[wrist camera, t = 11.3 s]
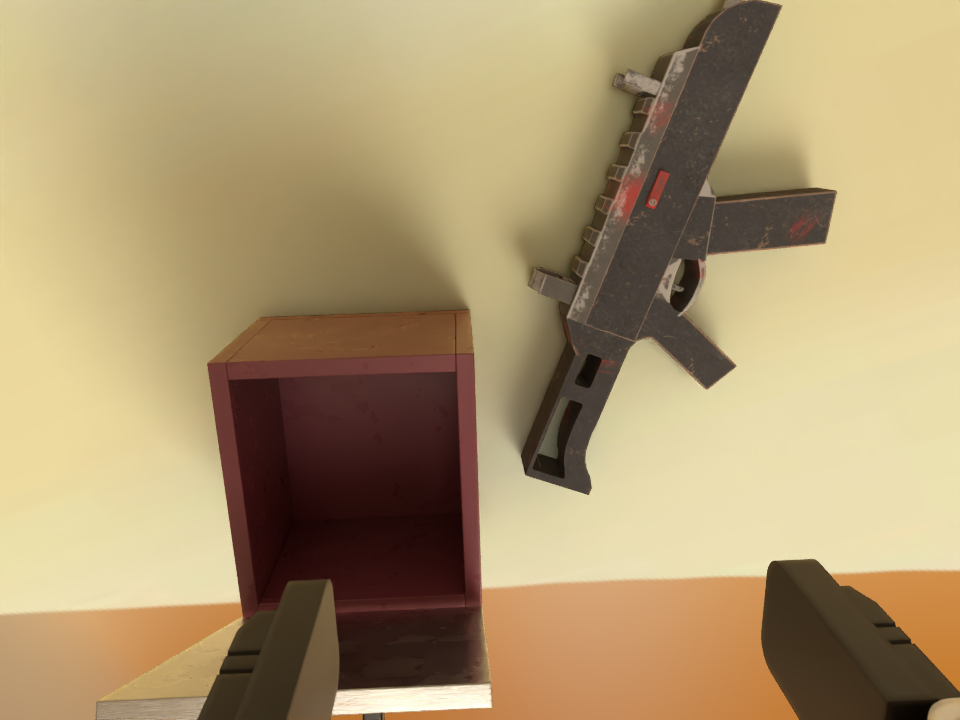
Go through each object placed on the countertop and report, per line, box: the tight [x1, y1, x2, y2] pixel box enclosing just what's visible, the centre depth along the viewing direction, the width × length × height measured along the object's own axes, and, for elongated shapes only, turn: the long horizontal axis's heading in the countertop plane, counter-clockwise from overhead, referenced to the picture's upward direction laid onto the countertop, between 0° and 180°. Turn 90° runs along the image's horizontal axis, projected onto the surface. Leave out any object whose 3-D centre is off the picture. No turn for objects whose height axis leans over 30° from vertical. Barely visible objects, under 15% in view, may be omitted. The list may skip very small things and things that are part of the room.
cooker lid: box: [96, 606, 492, 720], centre depth 30 cm, size 15×13×6 cm
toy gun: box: [521, 0, 837, 495], centre depth 42 cm, size 3×32×15 cm
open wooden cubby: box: [207, 310, 482, 617], centre depth 41 cm, size 14×13×10 cm
